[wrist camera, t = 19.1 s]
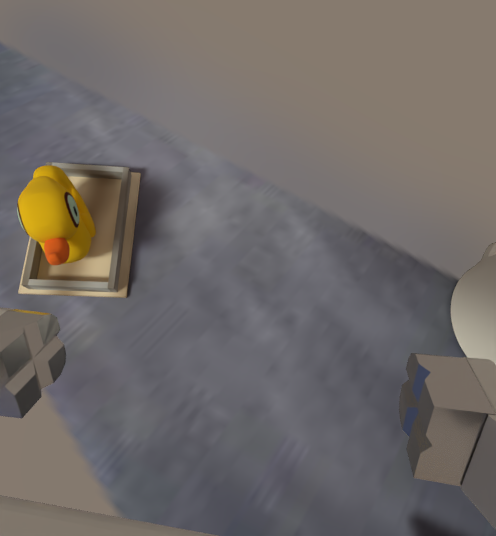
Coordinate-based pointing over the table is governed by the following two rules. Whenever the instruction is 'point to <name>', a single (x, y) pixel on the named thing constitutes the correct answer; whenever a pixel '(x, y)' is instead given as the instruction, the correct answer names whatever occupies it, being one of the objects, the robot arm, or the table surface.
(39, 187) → the duckling
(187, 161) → the table surface
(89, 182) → the shallow wooden tray
